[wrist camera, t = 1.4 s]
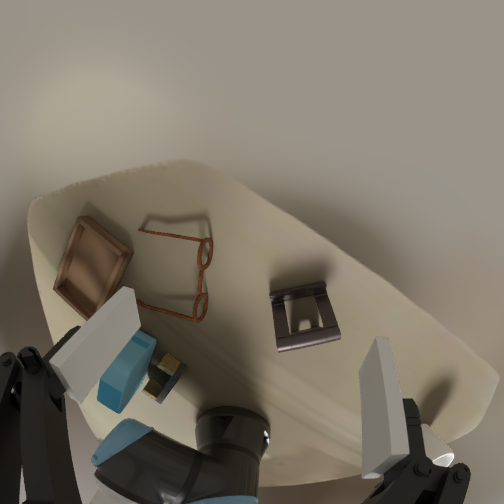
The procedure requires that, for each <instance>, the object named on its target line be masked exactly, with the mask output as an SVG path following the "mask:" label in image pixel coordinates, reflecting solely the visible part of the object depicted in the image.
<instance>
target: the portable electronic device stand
mask: <svg viewBox="0 0 504 504" xmlns="http://www.w3.org/2000/svg"><path fill="white" fill-rule="evenodd" d="M310 295H314V296H315V299H316V302H317V306H318V309H319V312H320V316H321V319H322V323H323V327H324V328H323V327H320V326H318V327H313V328H310V329H305V330H301V331H294V332H290V333H289V327H288V322H287V316H286V310H285V304H284V301H287V300H292V299H296V298H301V297H306V296H310ZM269 296H270V299H271V303H272V311H273V319H274V327H275V336H276V344H277V349H278V352H285V351H290V350H295V349H300V348H305V347H310V346H314V345H319V344H323V343H327V342H332V341H336V340H340V339H341V336H340V335H341V333H340V329H339V327H338V324H337V321H336V318H335V315H334V312H333V309H332V306H331V303H330V300H329V298H328V295H327V291H326V283H325V281H323V282H319V283H314V284H310V285H305V286H301V287H296V288H291V289H287V290H282V291H277V292H272V293H269Z"/></svg>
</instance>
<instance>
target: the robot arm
mask: <svg viewBox="0 0 504 504" xmlns="http://www.w3.org/2000/svg"><path fill="white" fill-rule="evenodd" d="M140 327H141V324H140V319H139V314H138V309H137V304H136V298H135V293H134V289H132V288H128V287H125V286H123V287H122V288H121V289H120V290H119V291H118V292H117V293H116V294H114V295H113V296H112V297H111V298H110V299H109V300H108V301H107V302H106V303H105V304H104V305H103V306H102V307H101V308H100V309H99V310H98V311H97V312H96V313H95V314H94V315H93V316H92V317H91V318H90V319H89V320H88V321H87V322H86V323H85V324H84V325H83V326H82V327H81V326H76V327H74V328H72V329H71V330H69V331H68V332H67V333H66V334H65V335H64V337H62V338H61V339H60V340H59V342H57V344H56V345H55V346H54V347H53V348H52V349H51V350H50V351H49V352H48V353H47V354H46V355H45V356H44V357H43V358H41V356H40V354H39V352H38V351H37V349H36V348H34V347H25V348H23V349H22V350H20V352H19V353H18V355H17V358H16V356H15V355H14V354H13V353H12V352H6V353H4V354H2V355H1V356H0V504H19V494H20V478H21V468H23V477H24V484H25V491H26V501H24V502H23V503H22V504H82V501H81V498H80V494H79V490H78V486H77V482H76V477H75V472H74V468H73V462H72V457H71V451H70V445H69V438H68V429H67V420H66V408H65V398H64V395H63V394H64V392H65V391H67V393H68V395H69V396H70V398H72V399H74V400H75V401H77V402H79V403H80V404H81V403H82V402H83V400H84V399H85V398H86V396H87V395H88V394H89V392H90V391H91V390H92V388H93V387H94V386H95V384H96V383H97V382H98V380H99V379H100V378H101V376H102V375H103V374H104V372H105V371H106V370H107V368H108V367H109V366H110V365H111V363H112V362H113V361H114V359H115V358H116V357H117V356H118V354H119V353H120V352H121V350H122V349H123V348H124V347H125V345H126V344H127V343H128V342H129V340H130V339H131V338H132V336H133V335H134V334H135V333H136V331H137V330H138V329H139V328H140ZM359 380H360V394H361V414H362V478H378V477H380V476H381V475H383V474H384V480H383V481H382V482H380V483H379V484H377V485H376V486H375V488H376V489H375V490H374V491H373V492H372V493H371V494H370V495H369V496H368V498H367V499H366V500H365V501H364V502H363V503H362V504H463V502H464V499H465V495H466V492H467V489H468V485H469V481H470V476H471V475H470V474H471V473H470V469H469V468H468V466H467V465H465V464H463V463H458V464H455V465H454V466H452V467H451V468H449V467H444V466H438V465H435V464H433V461H432V460H431V459H430V458H428V457H427V456H426V453H425V446H424V439H423V433H422V427H421V421H420V419H419V417H420V416H419V410H418V407H417V405H416V403H415V402H414V400H413V399H402V395H401V390H400V384H399V379H398V374H397V370H396V365H395V360H394V356H393V352H392V347H391V343H390V339H389V338H388V337H379V336H376V337H375V339H374V341H373V343H372V346H371V348H370V350H369V352H368V354H367V356H366V358H365V360H364V362H363V364H362V366H361V368H360V370H359ZM12 387H13V389H14V392H13V393H11V390H12ZM195 435H196V443H197V450H198V451H197V450H195V449H193V448H191V447H188V446H186V445H184V444H182V443H180V442H178V441H176V440H174V439H172V438H170V437H168V436H166V435H164V434H162V433H160V432H158V431H156V430H154V428H153V427H149V426H147V425H145V424H143V423H141V422H139V421H137V420H135V419H131V418H128V419H124V420H123V421H121V422H120V423H119V424H118V425H117V426H116V427H115V428H114V429H113V430H112V431H111V432H110V433H109V434H108V435H107V437H106V438H105V439H104V440H103V441H102V443H101V444H100V445H99V447H98V448H97V450H96V451H95V453H94V455H93V456H92V458H91V462H92V463H93V465H94V466H95V467H97V470H96V472H95V473H94V479H95V481H96V483H97V486H98V489H97V490H96V492H95V494H94V496H93V498H92V500H91V502H90V504H164V502H166V503H169V504H257V503H258V499H257V496H258V482H259V464H260V460H261V458H262V457H263V455H264V453H265V451H266V449H267V447H268V445H269V442H270V428H269V426H268V424H267V422H266V421H265V420H264V419H263V418H262V417H260V416H259V415H257V414H256V413H254V412H252V411H249V410H246V409H243V408H238V407H218V408H214V409H211V410H208V411H206V412H205V413H204V414H202V415H201V417H200V418H199V420H198V422H197V425H196V429H195Z"/></svg>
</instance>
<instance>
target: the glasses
mask: <svg viewBox="0 0 504 504" xmlns="http://www.w3.org/2000/svg"><path fill="white" fill-rule="evenodd" d="M138 231H142V232H146V233H151V234H156V235H163V236H169V237H175V238H181V239H187V240H193V241H198V242H201V244H200V246H199V250H198V257H197V263H198V267H199V270H200V273H199V280H198V296H197V298H196V300H195V303H194V308H193V317H189V316H186V315H182V314H179V313H175V312H172V311H169V310H165V309H161V308H157V307H153V306H149V305H146V304H144V303H142V302H141V301H137V300H136V303H137V304H139V305H141V306H142V307H145V308H148V309H151V310H155V311H159V312H163V313H166V314H170V315H173V316H176V317H180V318H183V319H186V320H190V321H193V322H197V323H199V322H201V321H202V320H203V318H204V317H205V314H206V311H207V306H208V295H207V294H206V293H202V278H203V272H204V270H205V269H206V268H208V266H209V265H210V263H211V260H212V254H213V241H212V239H211V238H204V239H199V238H193V237H187V236H181V235H175V234H169V233H161V232H155V231H149V230H143V229H139V230H138ZM207 242H209V246H210V252H209V257H208V260H207V263H206V264H205V265H204V266H203V265H202V262H201V256H202V250H203V247H204V245H205V244H206V243H207ZM202 297H204V299H205V304H204V310H203V313H202V315H201V316H200V317H199V318H197V307H198V303H199V301H200V299H201V298H202Z"/></svg>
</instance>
